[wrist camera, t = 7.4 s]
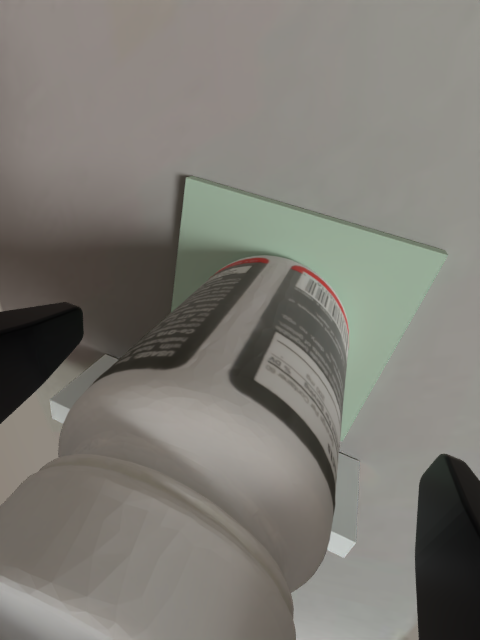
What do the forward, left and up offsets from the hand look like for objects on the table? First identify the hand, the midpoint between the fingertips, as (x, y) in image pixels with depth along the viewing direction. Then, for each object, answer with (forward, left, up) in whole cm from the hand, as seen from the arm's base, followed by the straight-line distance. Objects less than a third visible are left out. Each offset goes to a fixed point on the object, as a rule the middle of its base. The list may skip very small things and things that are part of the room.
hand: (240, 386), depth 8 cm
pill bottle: (0, 0, -3) cm, 3 cm away
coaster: (0, 0, -4) cm, 4 cm away
